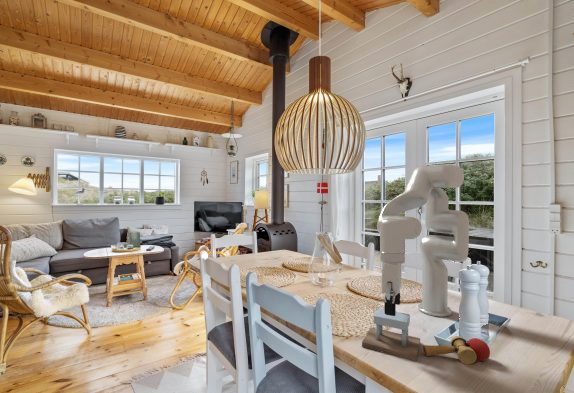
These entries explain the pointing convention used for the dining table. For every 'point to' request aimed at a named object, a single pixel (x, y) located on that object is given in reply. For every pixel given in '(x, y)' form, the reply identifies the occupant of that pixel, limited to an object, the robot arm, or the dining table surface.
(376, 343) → the walnut board
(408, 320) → the stool
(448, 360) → the dining table surface
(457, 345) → the kendama
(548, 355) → the dining table surface
